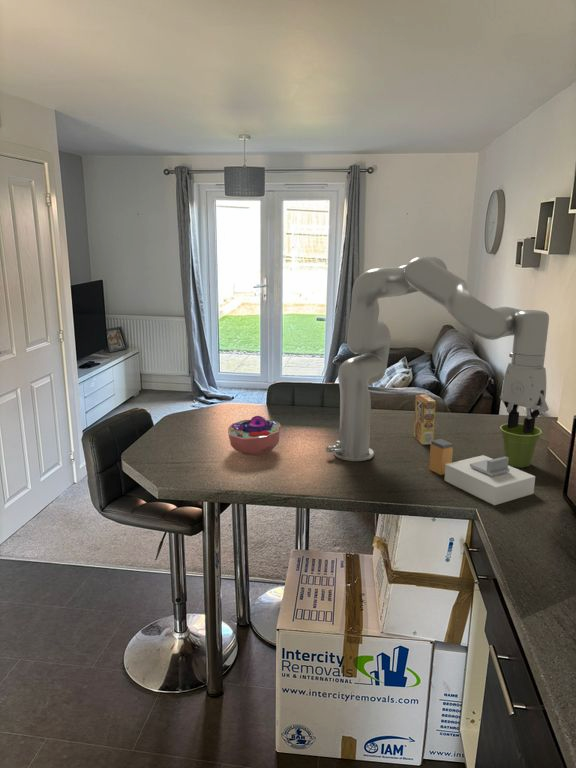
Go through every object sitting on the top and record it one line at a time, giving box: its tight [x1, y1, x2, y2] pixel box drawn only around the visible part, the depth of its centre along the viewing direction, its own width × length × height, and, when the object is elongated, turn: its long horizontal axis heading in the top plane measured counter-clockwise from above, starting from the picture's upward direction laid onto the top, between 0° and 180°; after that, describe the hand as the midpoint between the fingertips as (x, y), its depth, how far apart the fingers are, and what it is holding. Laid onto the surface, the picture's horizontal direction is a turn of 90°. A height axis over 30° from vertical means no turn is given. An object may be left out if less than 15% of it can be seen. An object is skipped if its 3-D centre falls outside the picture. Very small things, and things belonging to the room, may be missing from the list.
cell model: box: [227, 415, 281, 457], centre depth 181 cm, size 17×20×11 cm
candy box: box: [413, 394, 437, 446], centre depth 192 cm, size 9×4×15 cm, turn 8°
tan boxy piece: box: [428, 438, 454, 476], centre depth 167 cm, size 4×5×9 cm
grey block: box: [470, 456, 510, 476], centre depth 155 cm, size 7×8×4 cm
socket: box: [444, 454, 536, 506], centre depth 156 cm, size 15×18×5 cm
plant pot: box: [499, 422, 543, 469], centre depth 172 cm, size 12×12×11 cm
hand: (520, 429), depth 145 cm, fingers open, 4 cm apart
